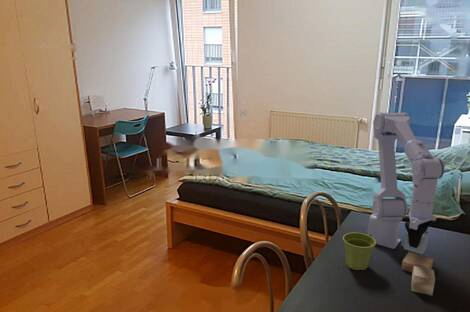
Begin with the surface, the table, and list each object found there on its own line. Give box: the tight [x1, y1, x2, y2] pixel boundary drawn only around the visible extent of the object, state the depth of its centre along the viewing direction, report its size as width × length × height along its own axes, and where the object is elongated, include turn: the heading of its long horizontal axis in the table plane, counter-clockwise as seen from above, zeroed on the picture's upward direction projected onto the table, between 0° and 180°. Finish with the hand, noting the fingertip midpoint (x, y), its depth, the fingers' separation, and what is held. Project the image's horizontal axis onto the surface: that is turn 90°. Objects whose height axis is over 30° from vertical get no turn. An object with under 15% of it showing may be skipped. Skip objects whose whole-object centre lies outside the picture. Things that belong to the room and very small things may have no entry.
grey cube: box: [403, 231, 430, 255], centre depth 110 cm, size 5×5×5 cm
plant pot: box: [342, 232, 377, 271], centre depth 113 cm, size 9×9×9 cm
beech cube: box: [411, 266, 436, 296], centre depth 103 cm, size 5×5×5 cm
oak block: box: [401, 251, 434, 274], centre depth 113 cm, size 7×7×3 cm
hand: (416, 243), depth 110 cm, fingers closed on grey cube, 5 cm apart
